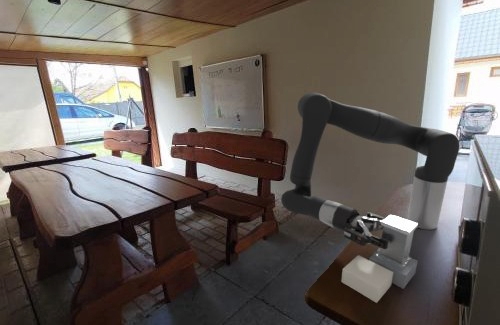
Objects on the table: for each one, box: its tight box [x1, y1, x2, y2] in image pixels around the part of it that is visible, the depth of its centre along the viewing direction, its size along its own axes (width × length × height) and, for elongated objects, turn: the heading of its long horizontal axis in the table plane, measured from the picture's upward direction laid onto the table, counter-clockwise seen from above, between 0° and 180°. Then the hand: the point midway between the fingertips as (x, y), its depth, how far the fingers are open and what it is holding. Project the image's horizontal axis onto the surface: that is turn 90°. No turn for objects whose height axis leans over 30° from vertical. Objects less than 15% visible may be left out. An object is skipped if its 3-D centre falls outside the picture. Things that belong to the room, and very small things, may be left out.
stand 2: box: [368, 247, 419, 290], centre depth 69 cm, size 8×9×4 cm
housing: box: [376, 213, 418, 270], centre depth 67 cm, size 6×6×11 cm
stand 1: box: [341, 254, 393, 304], centre depth 66 cm, size 8×9×4 cm
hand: (394, 238), depth 67 cm, fingers open, 8 cm apart
